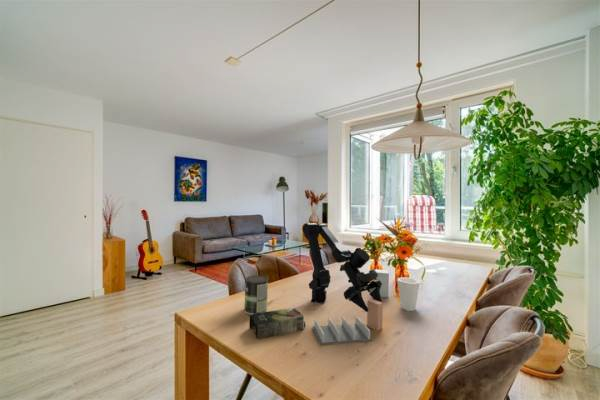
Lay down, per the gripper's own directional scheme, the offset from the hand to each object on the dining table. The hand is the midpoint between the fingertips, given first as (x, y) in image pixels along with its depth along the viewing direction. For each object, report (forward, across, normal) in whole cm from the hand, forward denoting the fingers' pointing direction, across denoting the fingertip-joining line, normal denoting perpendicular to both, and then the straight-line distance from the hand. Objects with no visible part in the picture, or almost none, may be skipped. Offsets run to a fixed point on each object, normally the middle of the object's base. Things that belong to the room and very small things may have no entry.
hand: (375, 308), depth 103 cm
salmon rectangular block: (+5, 0, +5) cm, 7 cm away
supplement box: (-10, +34, +20) cm, 41 cm away
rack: (+2, -15, +8) cm, 17 cm away
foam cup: (+3, +29, +7) cm, 30 cm away
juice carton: (-9, -32, +20) cm, 39 cm away
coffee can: (-23, -31, +34) cm, 52 cm away
